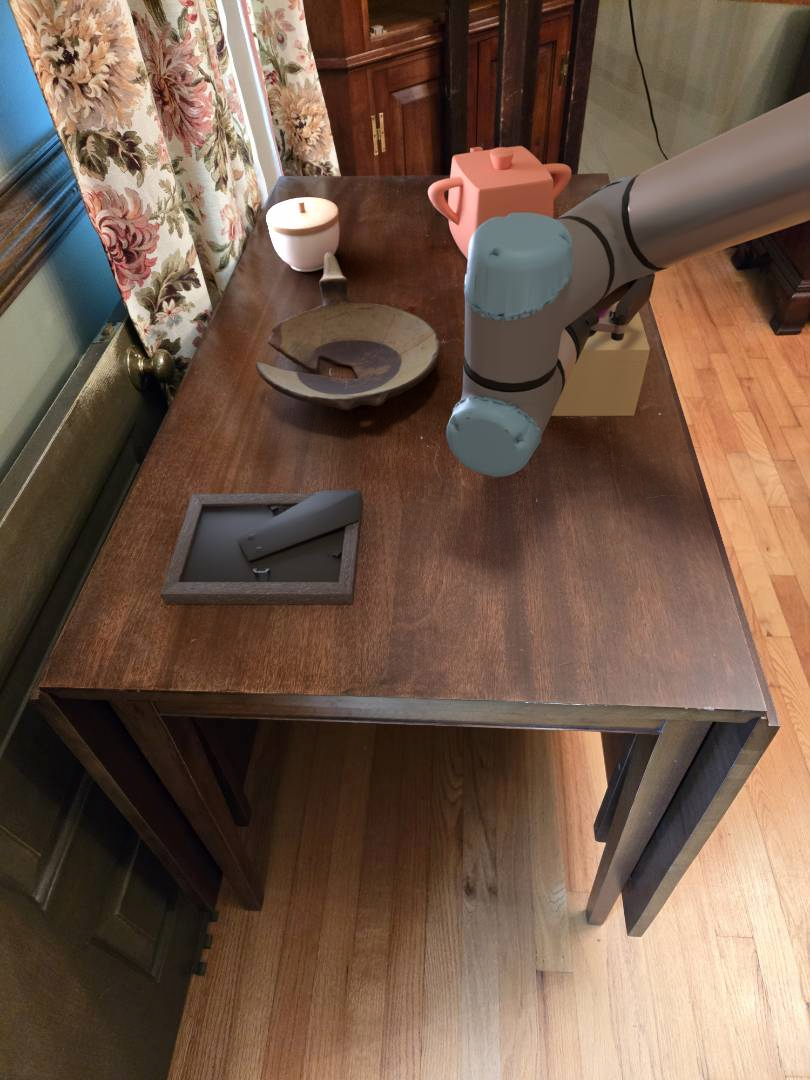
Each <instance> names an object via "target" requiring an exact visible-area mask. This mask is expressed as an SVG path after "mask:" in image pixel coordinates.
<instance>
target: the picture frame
mask: <svg viewBox="0 0 810 1080" xmlns="http://www.w3.org/2000/svg"><path fill="white" fill-rule="evenodd" d="M362 492H363V491H362V489H321V490H319V491H318V492H307V493H300V492H299V493H298V492H296V493H295V492H294V493H192V495H191V497H190V500H189V504H188V507H187V510H186V513H185V516H184V519H183V522H182V524H181V528H180V531H179V535H178V538H177V540H176V544H175V547H174V550H173V553H172V556H171V559H170V562H169V565H168V568H167V571H166V575H165V577H164V578H165V579H164V581H163V584H162V587H161V590H160V593H159V595H160V597H161V599H162V601H163V603H164V605H354V599H355V598H354V597H355V588H356V580H357V579H356V578H357V569H358V558H359V550H360V549H359V548H360V538H361V528H362V520H363V519H362V518H363V509H364V498H363V493H362Z"/></svg>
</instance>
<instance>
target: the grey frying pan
mask: <svg viewBox="0 0 810 1080" xmlns="http://www.w3.org/2000/svg"><path fill="white" fill-rule="evenodd" d="M348 286H349V282H348V278H347V277H345V275H344V274H343V272H342V269H341V268H340V265H339V262H338V260H337V258H336V256H335V254H334V255H333V254H332V253H330V252H328V253H326V254H325V257H324V268H323V275H322V277H321V279H320V280H319V288H320V293H321V299H322V305H319V306H317V307H315V308H313V309H310V310H307V311H303V312H301V313H297V314H295V315H292V316H290V317H289V318H286V319H284V320H282V321H280V322H278V323H277V324H276V325H274V327H272V329H271V334H270V336H269V337H268V338H267V340H266V342H267V344H268V345H269V346H271V347H272V348H273V349H274V350H275V351H276V352H278V353H280V354H281V355H283V356H284V358H286V359H287V360H290V361H291V362H292V363H293V364H295V365H297V366H300V368H302V370H307V371H308V372H309V373H306V372H302V371H300V372H299V371H293V370H286V369H285V370H284V369H282V368H279V367H275V366H271V365H268V364H266V363H264V362H259V361H258V362H255V369H256V371H257V373H258V375H259V376H260V378H261V380H263V381H264V382H265V383H266V384H267V385H269V386H270V387H271V388H272V389H273V390H275V391H277V392H278V393H281V394H282V395H285V396H287V397H290V398H292V399H295V400H298V401H300V402H303V403H307V404H310V405H317V406H326V407H331V408H336V409H338V410H341V411H350V410H352V409H354V408H357V407H360V406H372V407H373V406H374V407H375V406H380V405H382V404H384V403H385V402H386V401H387V399H390V398H392V397H395V396H397V395H401V394H402V393H404V392H406V391H408V390H410V389H412V388H414V386H417V385H418V384H419V383H420V382H422V381H423V380H425V378H427V377H428V375H430V373H431V372H432V371H433V370H434V368H435V367H436V365H437V363H438V361H439V358H440V355H441V342H440V340H439V335H438V334H437V331H436V330H435V329H434V328H433V327H432V325H430V323H428V322H427V321H425V319H423V318H421V317H419V316H418V315H415V314H413V313H412V312H411V313H410V312H409V311H405V310H403V309H399V308H396V307H392V306H389V305H383V304H377V303H367V302H352V301H351V300H350V299H349V296H348ZM320 360H323V361H326V362H327V363H330V364H335V365H337V366H342V367H348V368H351V369H352V370H353V373H355V375H356V378H345V377H334V376H332V374H331V371H332V368H330V369H328V371H329V373H328V374H329V376H328V375H322V374H321V375H319V374H318V372H319V370H320V369H319V368H320V366H321V363H320Z"/></svg>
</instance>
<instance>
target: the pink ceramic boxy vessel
mask: <svg viewBox="0 0 810 1080" xmlns="http://www.w3.org/2000/svg"><path fill="white" fill-rule="evenodd" d="M450 167H451V168H450V175H449V178H444V179H441V180H437V181H435V182H433V183H432V184H431V185H430V186H429V187H428V189H427V195H428V198H429V201H430V202H431V204H432V206H433V207H434V208H435V209H436V210H437V211H438V212H439V213H440V214H442V215H443V216H444V217H446V218H447V220H448V226H449V230H450V233H451V235H452V238H453V240H454V242H455V244H456V246H457V247H458V249H459V250H460V252H461V253H462V254H463V256H464V257H465V258H466V260H468V250H469V243H470V239H471V237H472V235H473V233H474V232H475V230H476V229H477V228H478V227H479V226H480V225H481V224H483V223H484V222H486V221H487V220H489V219H491V218H494V217H506V216H508V215H509V214H510V213H523V212H525V213H536V214H541V215H545V216H548V217H551V218H553V219H554V207H555V206H554V205H555V203H554V202H555V200H557V198H558V197H559V196H560V195H561V194H562V193H563V192H564V190H565V189H566V187H567V186H568V184H569V182H570V180H571V177H572V172H573V171H572V169H571V167H570V166H569V165H567V164H565V163H558V162H555V163H553V162H552V163H544V164H543V163H542V162H541V161H540V159H538V158H537V157H536V156H535V155H534V154H533V153H532V152H531V151H530V150H528V149H527V148H526V147H524V146H522V145H516V146H507V147H506V146H505V147H504V146H500V147H494V148H492V149H485V150H484V148H483V147H481V146H475V147H470V148H469V152H466V153H465V152H464V153H460V154H454V155H453V156H452V158H451V166H450ZM552 175H555V177H554V179H553V176H552ZM447 191H448V198H447V200H446V198H445V192H447Z"/></svg>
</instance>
